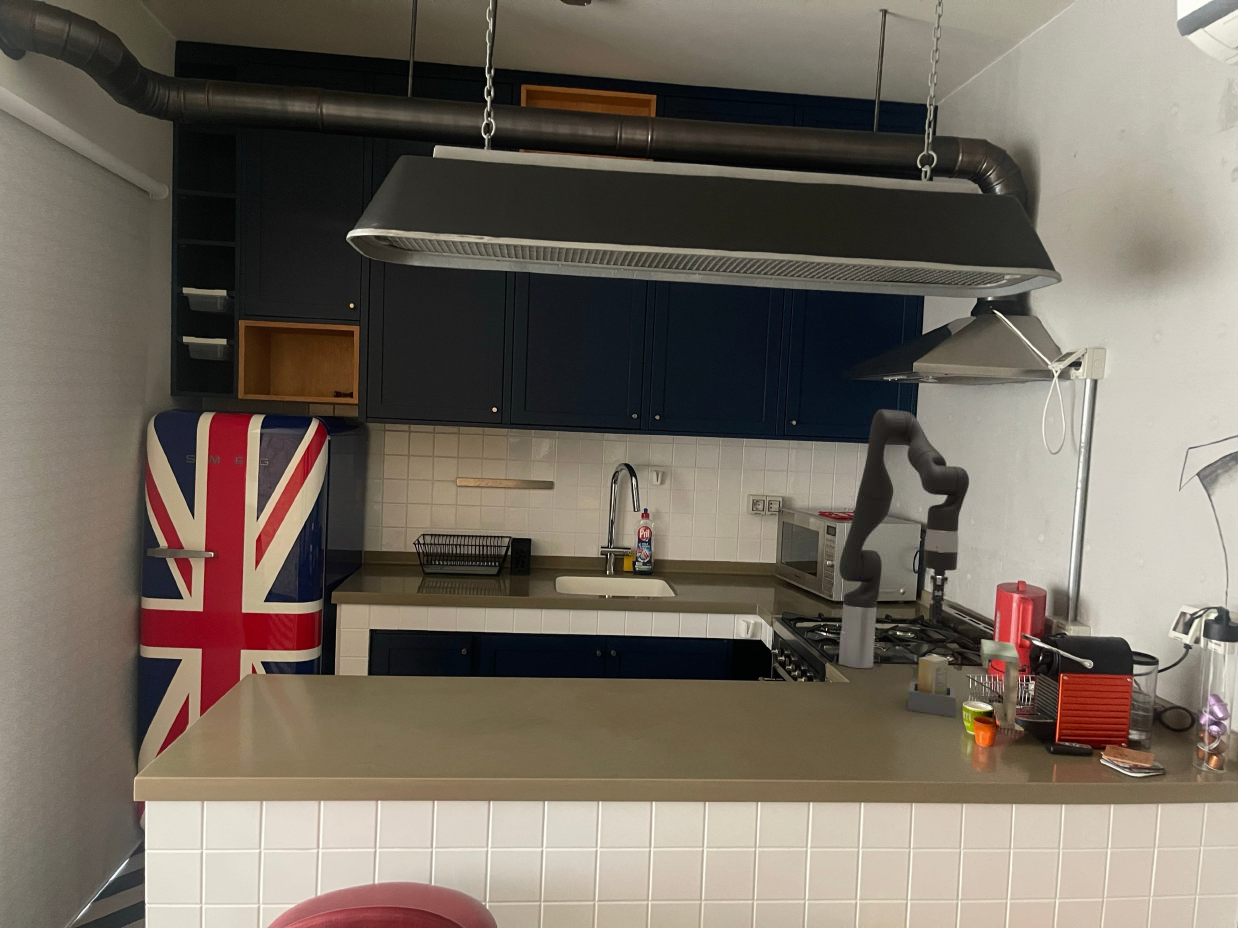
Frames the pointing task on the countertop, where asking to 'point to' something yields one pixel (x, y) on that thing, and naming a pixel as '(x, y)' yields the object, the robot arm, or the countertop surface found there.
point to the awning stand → (1011, 658)
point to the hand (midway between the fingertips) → (936, 616)
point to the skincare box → (933, 675)
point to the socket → (931, 701)
